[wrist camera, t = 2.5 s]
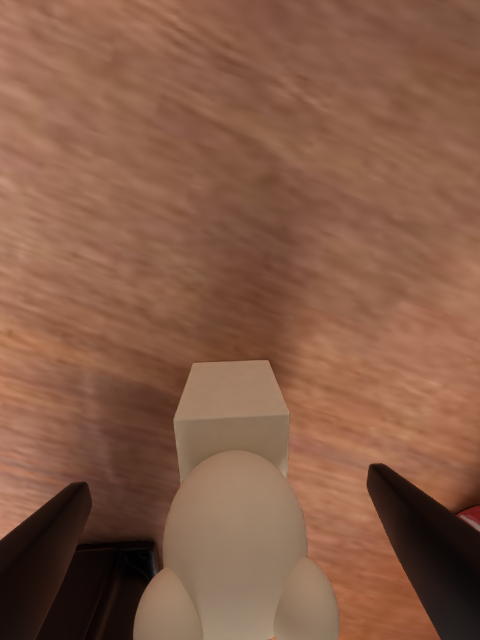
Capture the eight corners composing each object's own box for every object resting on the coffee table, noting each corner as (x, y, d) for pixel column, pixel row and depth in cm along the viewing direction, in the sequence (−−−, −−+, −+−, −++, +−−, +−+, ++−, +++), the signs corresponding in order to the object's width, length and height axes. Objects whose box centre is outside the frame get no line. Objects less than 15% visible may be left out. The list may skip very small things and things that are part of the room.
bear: (271, 436, 12) (341, 724, 5) (195, 440, 12) (137, 746, 4) (272, 358, 11) (369, 572, 3) (188, 362, 11) (95, 594, 3)
